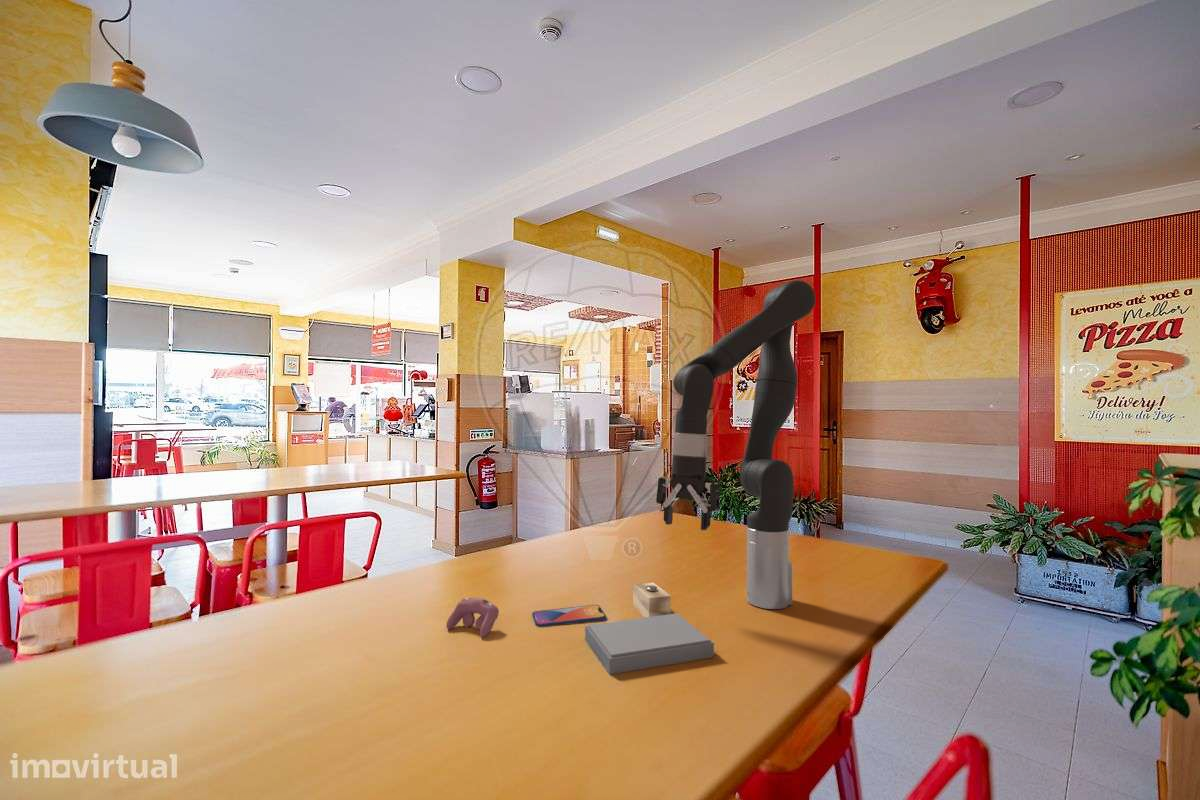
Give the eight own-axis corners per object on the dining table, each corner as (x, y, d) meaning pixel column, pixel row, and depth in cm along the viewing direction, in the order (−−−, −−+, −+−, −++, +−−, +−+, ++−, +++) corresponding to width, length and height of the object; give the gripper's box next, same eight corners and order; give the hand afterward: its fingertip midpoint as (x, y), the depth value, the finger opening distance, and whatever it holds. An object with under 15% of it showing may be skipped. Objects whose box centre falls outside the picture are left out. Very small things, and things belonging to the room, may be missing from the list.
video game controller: (495, 639, 106) (504, 603, 109) (482, 637, 102) (492, 599, 105) (456, 631, 110) (466, 595, 113) (442, 628, 107) (453, 592, 110)
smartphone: (531, 616, 116) (531, 611, 116) (598, 608, 120) (598, 604, 120) (536, 630, 109) (536, 624, 109) (607, 621, 112) (606, 616, 112)
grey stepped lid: (678, 626, 109) (678, 612, 109) (713, 657, 96) (713, 640, 96) (585, 639, 103) (585, 624, 103) (609, 674, 89) (609, 656, 89)
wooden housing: (653, 604, 122) (653, 579, 122) (670, 619, 114) (670, 592, 114) (633, 606, 120) (633, 582, 121) (649, 622, 112) (649, 595, 112)
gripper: (725, 456, 119) (722, 529, 118) (668, 451, 126) (664, 520, 125) (713, 456, 112) (710, 534, 111) (653, 451, 120) (649, 524, 119)
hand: (686, 526), depth 118 cm, fingers open, 8 cm apart
